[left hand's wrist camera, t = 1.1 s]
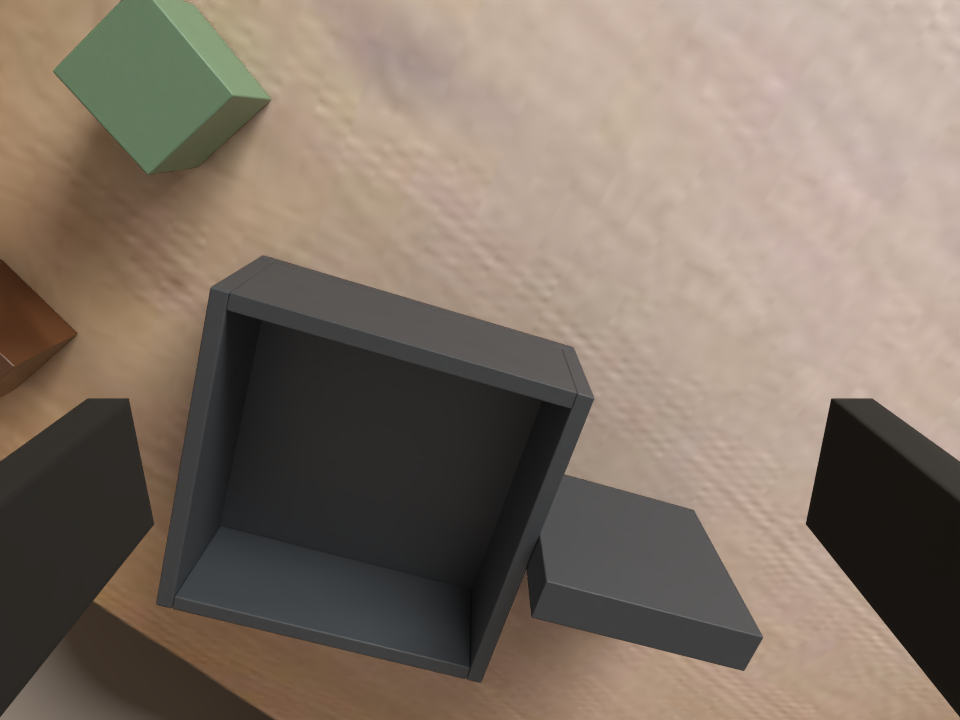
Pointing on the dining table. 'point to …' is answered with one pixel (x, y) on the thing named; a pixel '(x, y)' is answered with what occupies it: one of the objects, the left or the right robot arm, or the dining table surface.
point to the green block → (162, 83)
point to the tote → (415, 487)
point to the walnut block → (26, 331)
